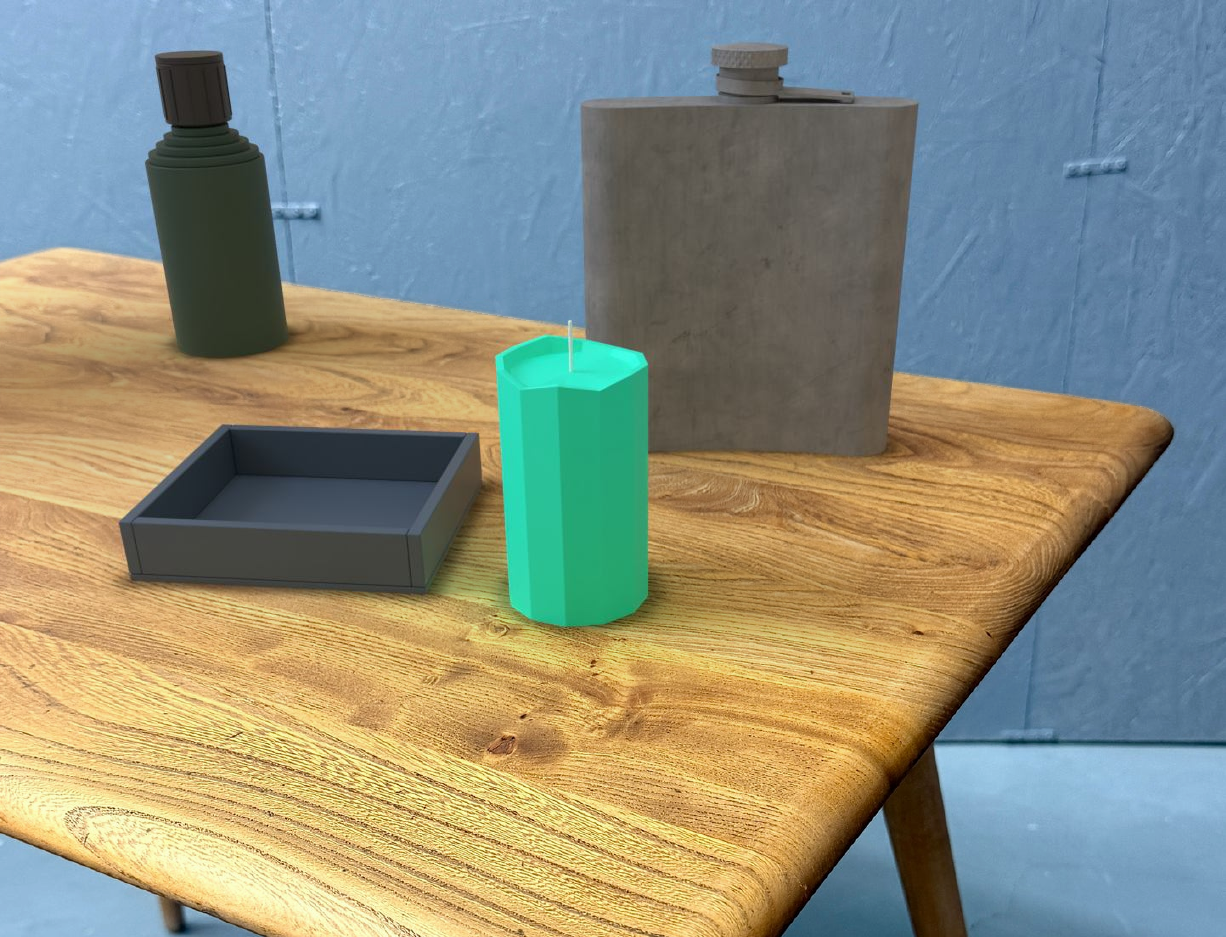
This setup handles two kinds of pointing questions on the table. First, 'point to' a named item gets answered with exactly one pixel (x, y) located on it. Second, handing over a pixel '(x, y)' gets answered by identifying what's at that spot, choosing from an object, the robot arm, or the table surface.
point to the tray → (307, 509)
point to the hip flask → (751, 255)
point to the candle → (574, 478)
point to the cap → (193, 87)
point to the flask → (217, 242)
